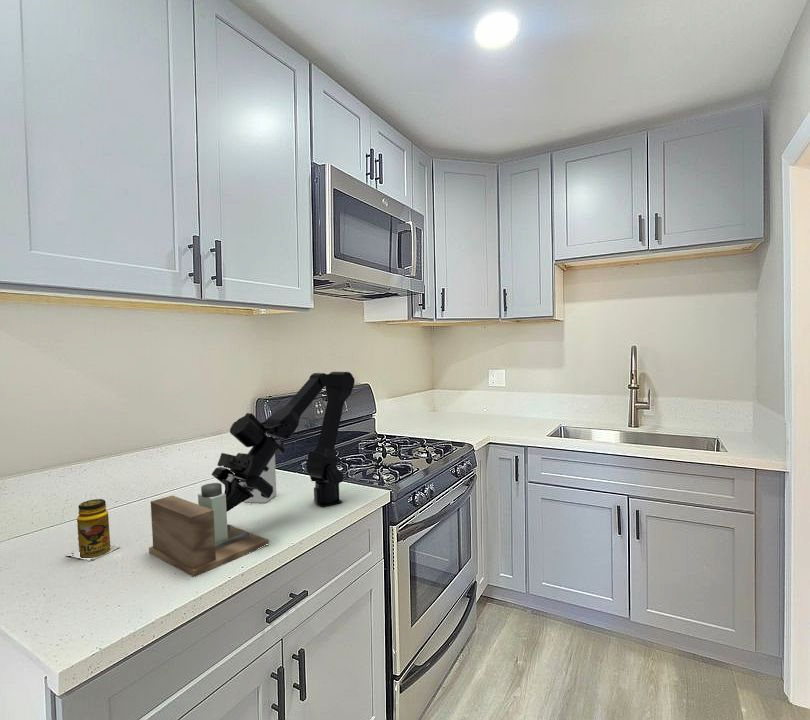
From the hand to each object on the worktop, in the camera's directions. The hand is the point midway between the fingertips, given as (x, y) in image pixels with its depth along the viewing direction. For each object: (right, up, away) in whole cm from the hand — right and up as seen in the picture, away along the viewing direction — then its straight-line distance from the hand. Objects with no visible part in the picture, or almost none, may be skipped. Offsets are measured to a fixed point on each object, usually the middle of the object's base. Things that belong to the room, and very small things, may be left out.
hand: (220, 513), depth 112 cm
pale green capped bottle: (-1, -6, -1) cm, 6 cm away
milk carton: (0, -6, +32) cm, 33 cm away
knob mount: (-2, -8, -3) cm, 8 cm away
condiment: (-29, -9, -2) cm, 30 cm away
